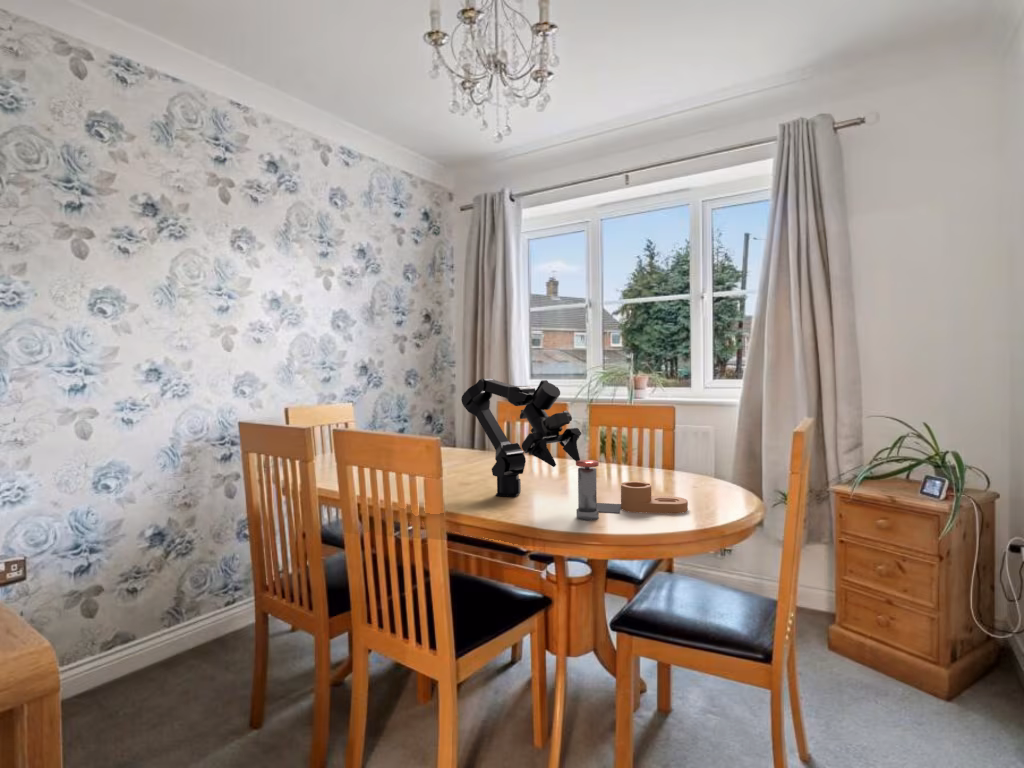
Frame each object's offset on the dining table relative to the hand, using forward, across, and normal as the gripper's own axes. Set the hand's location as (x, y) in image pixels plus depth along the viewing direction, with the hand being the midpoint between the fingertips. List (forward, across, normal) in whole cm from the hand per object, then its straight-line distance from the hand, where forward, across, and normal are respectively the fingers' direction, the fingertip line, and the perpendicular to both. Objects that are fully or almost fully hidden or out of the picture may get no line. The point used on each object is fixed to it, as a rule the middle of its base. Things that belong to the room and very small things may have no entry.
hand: (567, 463), depth 154 cm
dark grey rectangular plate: (+13, +11, +6) cm, 18 cm away
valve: (+15, 0, +4) cm, 15 cm away
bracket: (+20, +20, 0) cm, 28 cm away
